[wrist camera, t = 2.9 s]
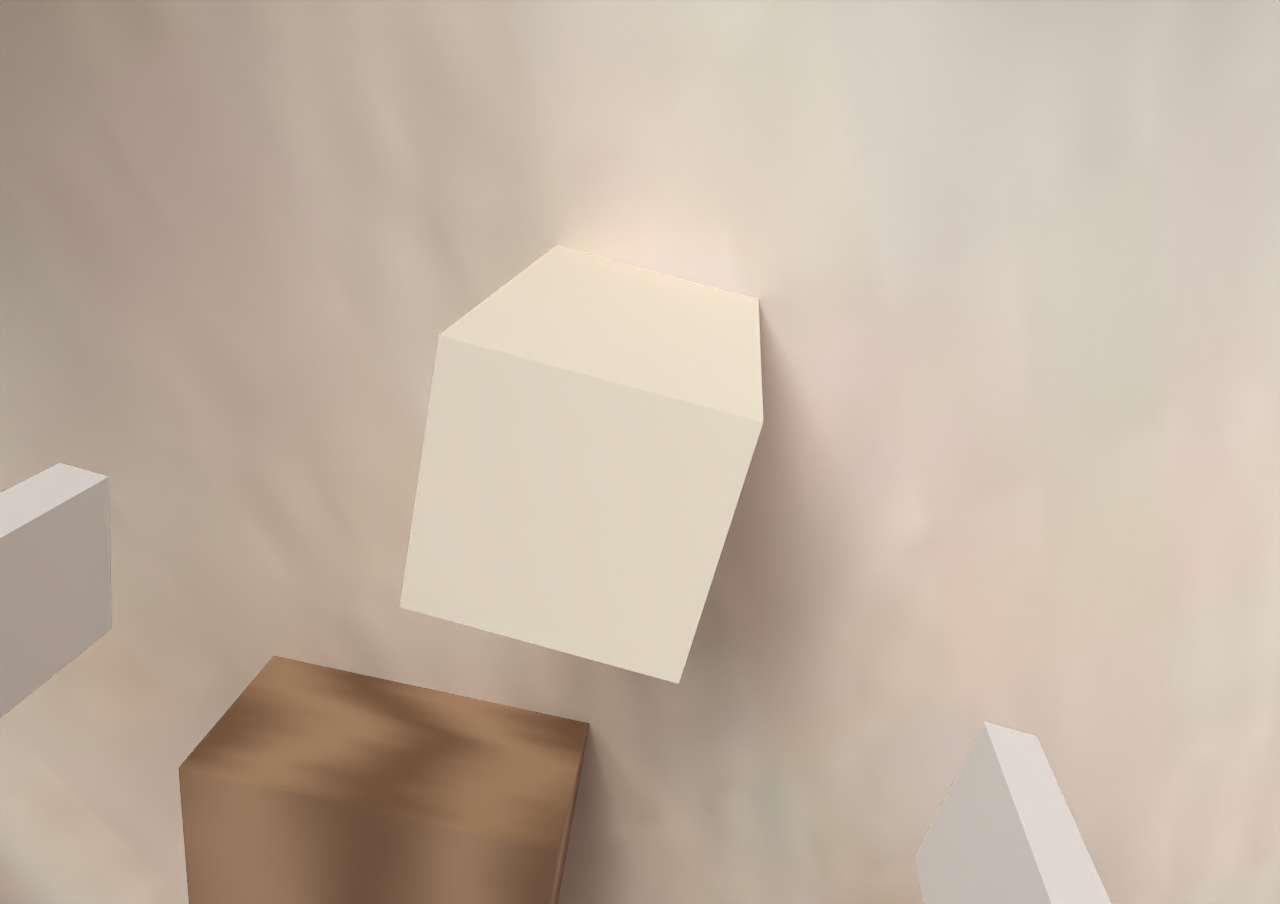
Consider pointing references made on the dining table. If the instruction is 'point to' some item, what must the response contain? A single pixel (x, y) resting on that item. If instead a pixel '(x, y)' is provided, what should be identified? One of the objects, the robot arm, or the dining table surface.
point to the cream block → (586, 459)
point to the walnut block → (377, 795)
